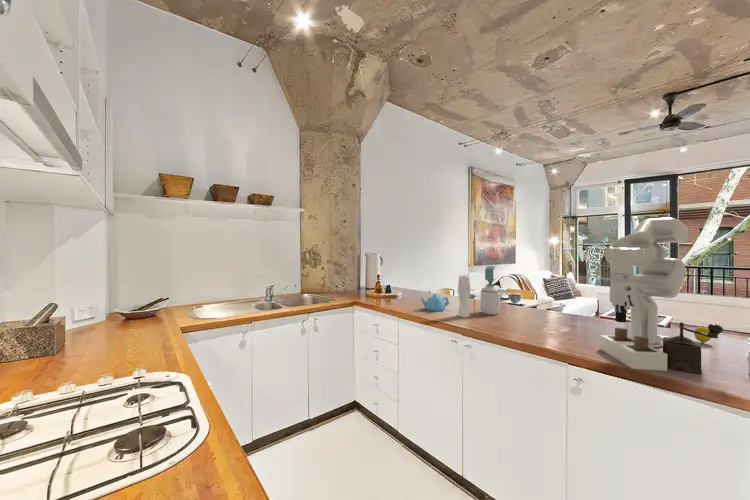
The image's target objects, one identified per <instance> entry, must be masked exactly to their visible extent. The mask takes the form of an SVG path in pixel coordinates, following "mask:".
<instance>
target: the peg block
mask: <svg viewBox="0 0 750 500" xmlns="http://www.w3.org/2000/svg"><path fill="white" fill-rule="evenodd" d="M599 349H600V350H601V351H603V352H604V353H606V354H607V355H609V356H611V357H612V358H614V359H616V360H618V361H619V362H621V363H623V365H626V366H627V367H629V368H630V369H632V370H646V371H647V370H648V371H662V372H663V371H665V372H667V371H668V368H667V354H666V353H664V352H663V351H661V350H659V349H657V348H656V347H651V346H648V350H637V349H635V348H634V339H633V338H631V337H630V335H629V336H628V335H627V340H617V339H615V335H607V334H606V335H603V334H600V335H599Z"/></svg>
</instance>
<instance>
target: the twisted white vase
mask: <svg viewBox="0 0 750 500" xmlns="http://www.w3.org/2000/svg"><path fill="white" fill-rule="evenodd" d="M470 281H471V280H470V273H469V272H468V273H467V274H462V275H460V274H459V275H458V281H457V296H458V301H459V304H458V305H459V307H458V313H457V315H455V317H457V316H458V317H457V318H462V319H467V318H472V317H473V315H470V314H471V313H470V305H469V301H470V295H471V282H470Z"/></svg>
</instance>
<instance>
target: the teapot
mask: <svg viewBox="0 0 750 500" xmlns="http://www.w3.org/2000/svg"><path fill="white" fill-rule="evenodd" d="M420 300H421V302H422V304H423V306H424V308H425V310H427V311H430V312H443V311H445V309H446V307H447V306H448V305H450V302H449V299H448V297H447V296H445V297H441V296H438V294H435V293H434V294H433V295H431V296H430V295H429V297H428V298H427V299H426V301H425V299H424V298H423V297H420ZM444 300H445V301H444Z"/></svg>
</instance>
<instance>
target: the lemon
mask: <svg viewBox="0 0 750 500" xmlns="http://www.w3.org/2000/svg"><path fill="white" fill-rule="evenodd" d="M694 330H695V331H698V332H702V333H705V334H708V333H709V329H708V327H706V326H704V325H701V326H698V327H696V328H695V329H694ZM693 335H694V337H695V338H694V339H696V341H697V342H699V343H700V344H705V343H707V342H710V340H711V339H712V338H710V337H706V336H703V335H700V334H697V333H693Z"/></svg>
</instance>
